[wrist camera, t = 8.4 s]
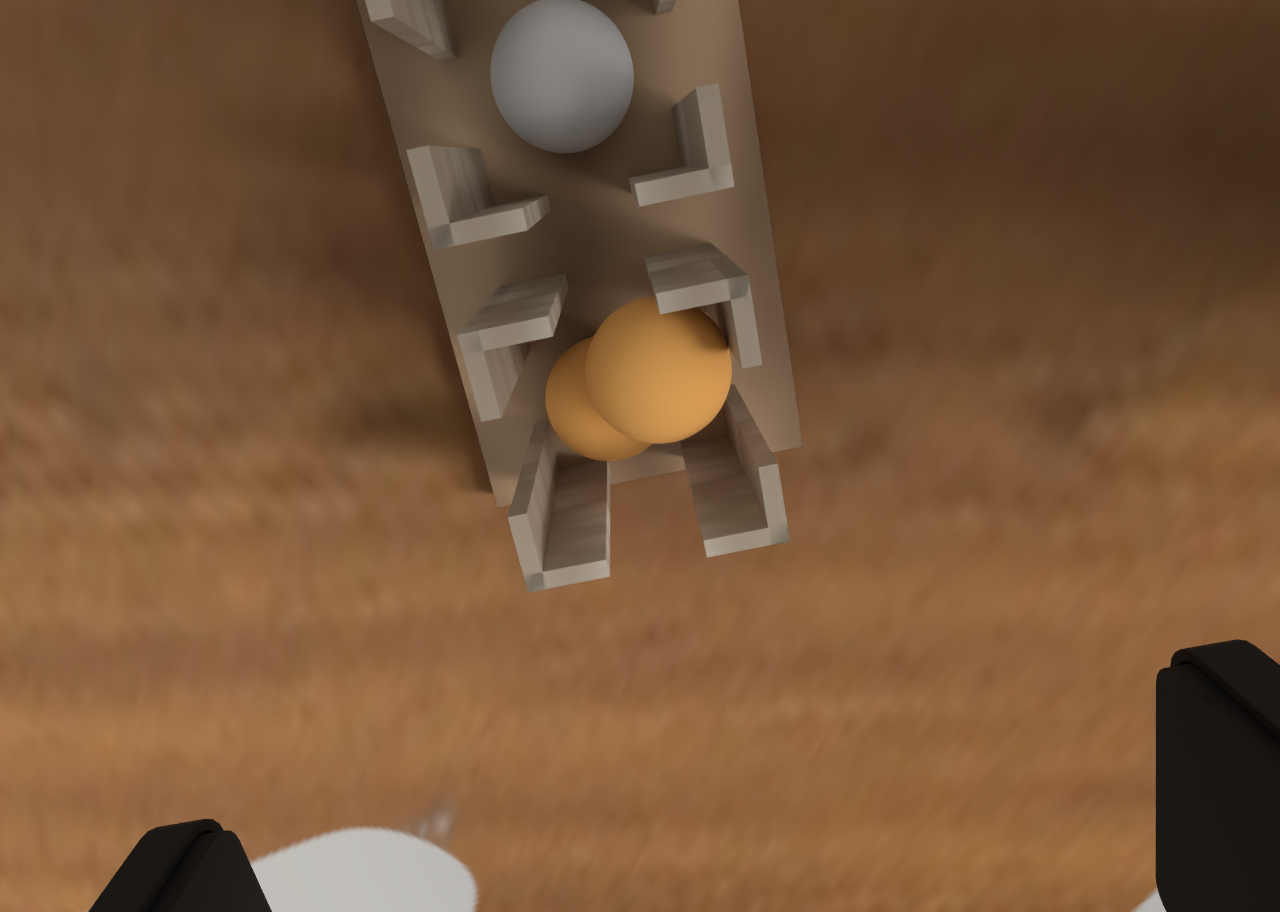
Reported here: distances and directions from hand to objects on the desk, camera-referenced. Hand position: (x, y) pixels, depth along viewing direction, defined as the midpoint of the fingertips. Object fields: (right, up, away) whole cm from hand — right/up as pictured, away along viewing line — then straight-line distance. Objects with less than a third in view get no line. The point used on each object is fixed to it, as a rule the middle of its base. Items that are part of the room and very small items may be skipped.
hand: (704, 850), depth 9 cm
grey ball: (-3, +15, +17) cm, 23 cm away
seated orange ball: (-1, +7, +20) cm, 21 cm away
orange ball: (-2, +5, +15) cm, 16 cm away
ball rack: (-2, +12, +20) cm, 23 cm away
